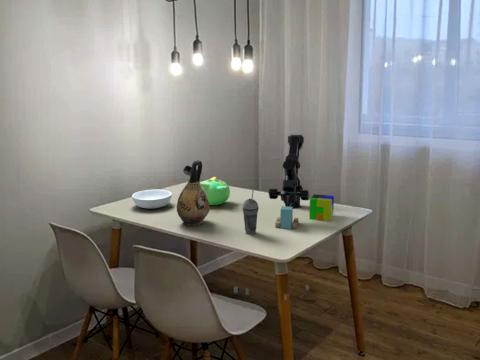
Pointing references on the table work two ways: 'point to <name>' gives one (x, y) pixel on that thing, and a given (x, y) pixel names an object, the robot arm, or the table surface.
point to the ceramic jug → (193, 198)
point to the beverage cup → (250, 215)
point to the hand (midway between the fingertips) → (287, 210)
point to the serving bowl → (152, 198)
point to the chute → (294, 224)
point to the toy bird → (216, 191)
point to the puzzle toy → (321, 207)
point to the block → (286, 217)
